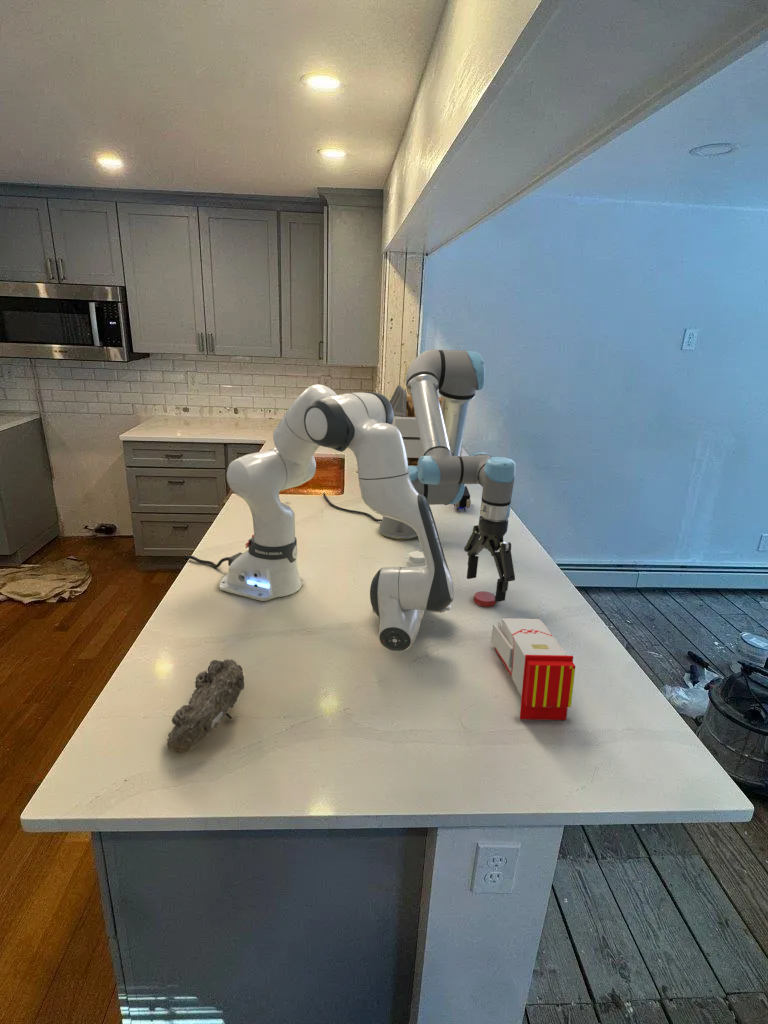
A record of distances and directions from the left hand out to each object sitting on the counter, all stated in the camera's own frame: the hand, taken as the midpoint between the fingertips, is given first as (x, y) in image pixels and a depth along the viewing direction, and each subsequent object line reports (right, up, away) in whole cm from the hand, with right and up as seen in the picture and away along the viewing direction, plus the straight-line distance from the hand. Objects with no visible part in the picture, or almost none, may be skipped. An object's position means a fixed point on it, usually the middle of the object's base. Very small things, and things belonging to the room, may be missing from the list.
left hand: (415, 581), depth 151 cm
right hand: (+19, -3, +5) cm, 20 cm away
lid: (+19, -5, +5) cm, 20 cm away
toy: (+22, -18, -27) cm, 39 cm away
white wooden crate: (+9, +37, +124) cm, 130 cm away
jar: (0, -7, +1) cm, 7 cm away
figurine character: (+22, +20, +79) cm, 84 cm away
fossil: (-41, -21, -43) cm, 63 cm away
